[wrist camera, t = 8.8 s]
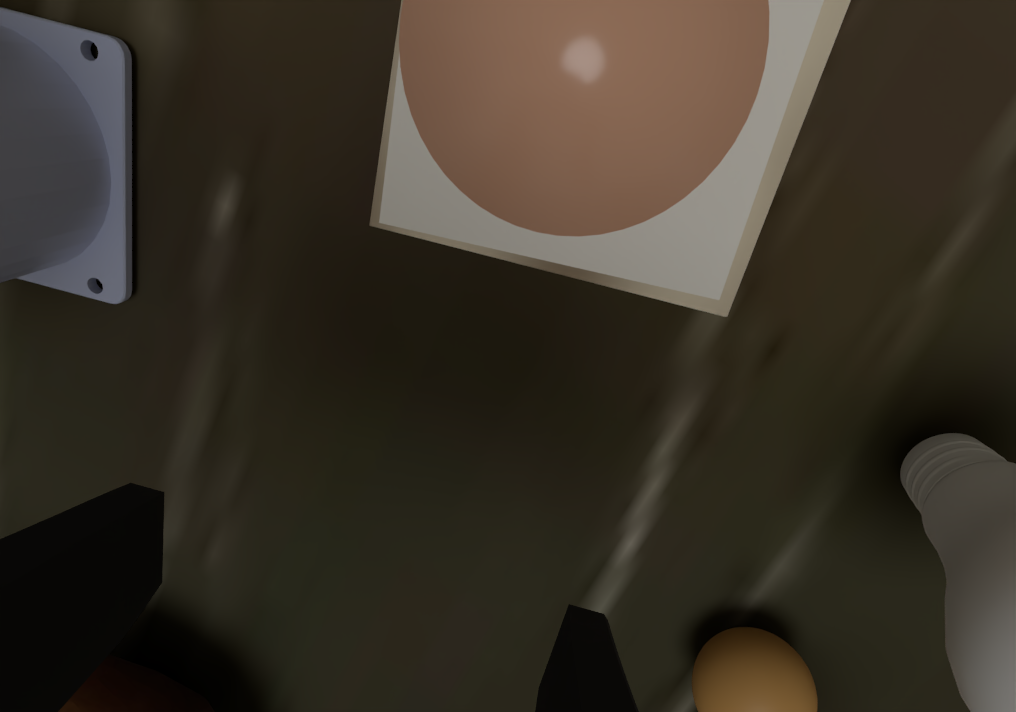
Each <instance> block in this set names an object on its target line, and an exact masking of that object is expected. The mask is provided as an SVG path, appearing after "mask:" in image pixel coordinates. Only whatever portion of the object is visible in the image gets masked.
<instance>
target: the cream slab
mask: <svg viewBox="0 0 1016 712" xmlns="http://www.w3.org/2000/svg"><path fill="white" fill-rule="evenodd" d="M768 2H769V12H770V13H769V42H768V49H767V56H766V62H765V69H764V72H763V76H762V80H761V83H760V87H759V91H758V94H757V97H756V99H755V102H754V104H753V107H752V109H751V112H750V114H749V116H748V119H747V121H746V123H745V125H744V126H743V128H742V130H741V132H740V134H739V135H738V137H737V139H736V141H735V143H734V144H733V145H732V147H731V148H730V150H729V151H728V152H727V154H726V155H725V157H724V158H723V159H722V161H721V162H720V164H719V165H718V166H717V167H716V168H715V169H714V170H713V171H712V172H711V174H710V175H709V176H708V177H707V178H706V179H705V180H704V181H703V182H702V183H701V184H700V185H699V186H698V187H697V188H695V189H694V190H693V191H692V192H691V193H690V194H688V195H687V196H686V197H685V198H684V199H682V200H681V201H679V202H678V203H676V204H675V205H673V206H672V207H670V208H669V209H667V210H666V211H664V212H662V213H660V214H659V215H657V216H655V217H653V218H651V219H649V220H647V221H645V222H642V223H640V224H637V225H634V226H631V227H628V228H626V229H623V230H619V231H614V232H610V233H605V234H601V235H590V236H579V237H578V236H556V235H550V234H545V233H539V232H534V231H531V230H528V229H525V228H521V227H518V226H515V225H513V224H511V223H509V222H506V221H504V220H502V219H500V218H498V217H496V216H494V215H493V214H491V213H489V212H488V211H486V210H485V209H483V208H481V207H480V206H478V205H477V204H476V203H474V202H473V201H472V200H471V199H469V198H468V197H467V196H466V195H465V194H463V193H462V192H461V191H460V190H459V189H458V188H457V187H456V186H455V185H454V184H453V183H452V182H451V181H450V179H449V178H448V177H447V176H446V175H445V174H444V173H443V171H442V170H441V169H440V167H439V166H438V164H437V163H436V162H435V160H434V159H433V158H432V156H431V154H430V153H429V151H428V149H427V147H426V146H425V144H424V142H423V140H422V139H421V137H420V134H419V132H418V130H417V127H416V125H415V123H414V120H413V118H412V116H411V112H410V109H409V105H408V102H407V99H406V95H405V92H404V86H403V80H402V74H401V68H400V52H399V60H398V69H397V77H396V85H395V94H394V102H393V110H392V119H391V127H390V135H389V144H388V152H387V160H386V169H385V177H384V186H383V194H382V202H381V211H380V219H379V223H382V224H386V225H391V226H395V227H400V228H404V229H408V230H413V231H417V232H422V233H426V234H430V235H435V236H439V237H444V238H448V239H452V240H457V241H461V242H465V243H470V244H474V245H479V246H483V247H487V248H492V249H496V250H501V251H505V252H509V253H514V254H518V255H523V256H527V257H531V258H536V259H540V260H545V261H549V262H553V263H558V264H562V265H566V266H571V267H575V268H580V269H584V270H588V271H593V272H597V273H602V274H606V275H610V276H615V277H619V278H624V279H628V280H632V281H637V282H641V283H646V284H650V285H654V286H659V287H663V288H667V289H672V290H676V291H681V292H685V293H689V294H694V295H698V296H703V297H707V298H711V299H716V300H720V297H721V294H722V291H723V288H724V285H725V283H726V280H727V277H728V274H729V271H730V268H731V265H732V262H733V260H734V257H735V254H736V251H737V248H738V245H739V242H740V240H741V237H742V234H743V231H744V228H745V225H746V222H747V219H748V217H749V214H750V211H751V208H752V205H753V202H754V199H755V197H756V194H757V191H758V188H759V185H760V182H761V179H762V177H763V174H764V171H765V168H766V165H767V162H768V159H769V156H770V154H771V151H772V148H773V145H774V142H775V139H776V136H777V134H778V131H779V128H780V125H781V122H782V119H783V116H784V113H785V111H786V108H787V105H788V102H789V99H790V96H791V93H792V91H793V88H794V85H795V82H796V79H797V76H798V73H799V70H800V68H801V65H802V62H803V59H804V56H805V53H806V50H807V48H808V45H809V42H810V39H811V36H812V33H813V30H814V27H815V25H816V22H817V19H818V16H819V13H820V10H821V7H822V5H823V2H824V0H768Z"/></svg>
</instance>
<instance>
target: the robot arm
mask: <svg viewBox="0 0 1016 712" xmlns="http://www.w3.org/2000/svg"><path fill="white" fill-rule="evenodd" d="M92 43H94V44H95V45H96V47H97V49H98V57H97V59H95V58H94V57H93V56H92V54H91V50H90V48H91V44H92ZM14 278H17V279H21V280H25V281H28V282H32V283H36V284H40V285H43V286H47V287H51V288H55V289H58V290H62V291H66V292H69V293H73V294H77V295H81V296H84V297H88V298H92V299H96V300H99V301H103V302H107V303H111V304H118V303H121V302H123V301H126V300H128V299H129V298H130V296H131V293H132V58H131V52H130V51H129V49H128V47H127V45H126V44H125V43H124V42H123V41H122V40H121V39H119V38H117V37H114V36H111V35H107V34H103V33H99V32H95V31H91V30H87V29H84V28H80V27H76V26H72V25H68V24H64V23H60V22H57V21H53V20H49V19H45V18H41V17H37V16H33V15H30V14H26V13H22V12H18V11H14V10H10V9H6V8H3V7H0V283H1V282H4V281H8V280H11V279H14ZM96 279H98V280H99V281H100V282H101V283H102V286H103V289H101V288H100V287H99V286H98V285H97V282H96ZM163 522H164V492H161V491H158V490H154V489H151V488H147V487H143V486H140V485H136V484H133V483H130V484H127V485H125V486H122V487H119V488H117V489H115V490H112V491H110V492H107V493H105V494H103V495H101V496H98V497H96V498H94V499H91V500H89V501H87V502H85V503H82V504H80V505H78V506H75V507H73V508H71V509H69V510H66V511H64V512H62V513H60V514H57V515H55V516H53V517H51V518H48V519H46V520H44V521H41V522H39V523H37V524H35V525H32V526H30V527H28V528H25V529H23V530H21V531H18V532H16V533H14V534H11V535H9V536H7V537H4V538H2V539H0V712H58V711H59V710H60V709H61V708H62V707H63V706H64V705H65V704H66V702H67V701H68V700H69V699H70V698H71V697H72V696H73V695H74V693H75V692H76V691H77V690H78V689H79V688H80V687H81V686H82V684H83V683H84V682H85V681H86V680H87V679H88V678H89V677H90V675H91V674H92V673H93V672H94V671H95V670H96V669H97V667H98V666H99V665H100V664H101V663H102V662H103V661H104V659H105V658H106V657H107V656H108V655H109V654H110V653H111V651H112V650H113V649H114V648H115V647H116V646H117V644H118V643H119V642H120V641H121V640H122V639H123V637H124V636H125V635H126V634H127V632H128V631H129V629H130V628H131V627H132V625H133V624H134V622H135V621H136V620H137V618H138V617H139V615H140V614H141V613H142V611H143V610H144V608H145V607H146V605H147V604H148V602H149V601H150V599H151V598H152V596H153V595H154V594H155V592H156V591H157V589H158V588H159V586H160V585H161V583H162V564H163ZM535 712H639V711H638V709H637V706H636V703H635V701H634V698H633V695H632V693H631V690H630V687H629V684H628V681H627V679H626V676H625V673H624V670H623V667H622V664H621V661H620V658H619V655H618V652H617V649H616V646H615V643H614V640H613V636H612V633H611V630H610V626H609V623H608V620H607V618H606V617H605V615H604V614H602V613H598V612H595V611H591V610H587V609H584V608H580V607H577V606H573V605H569V606H568V608H567V611H566V614H565V617H564V619H563V622H562V625H561V628H560V631H559V633H558V636H557V639H556V642H555V644H554V647H553V650H552V653H551V656H550V658H549V661H548V664H547V667H546V669H545V672H544V675H543V678H542V681H541V683H540V686H539V690H538V697H537V704H536V711H535Z"/></svg>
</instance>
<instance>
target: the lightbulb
mask: <svg viewBox="0 0 1016 712" xmlns="http://www.w3.org/2000/svg"><path fill="white" fill-rule="evenodd" d="M900 479H901V482H902V486H903V487H904V489H905V490H906V492H907V494H908V496H909V497H910V499H911V500H912V501H913V503H914V505H915V506H916V508H917V509H918V510H919V512H920V513H921V515H922V523H923V526H924V530H925V533H926V535H927V536H928V538H929V539H930V541H931V543H932V544H933V546H934V547H935V549H936V550H937V552H938V554H939V557H940V559H941V561H942V564H943V566H944V569H945V575H946V580H947V584H946V592H945V645H946V652H947V655H948V659H949V662H950V665H951V668H952V671H953V674H954V677H955V680H956V683H957V686H958V689H959V692H960V695H961V697H962V699H963V700H964V702H965V704H966V705H967V707H968V708H969V710H970V712H1016V463H1012V462H1008V461H1007V460H1006V459H1005V458H1003V457H1002V456H1000V455H999V454H997V453H996V452H995V451H994V450H992V449H991V448H989V447H988V446H986V445H984V444H983V443H981V442H980V441H978V440H977V439H975V438H974V437H971V436H968V435H965V434H959V433H947V434H940V435H936V436H933V437H930V438H928V439H926V440H923V441H922V442H920V443H919V444H917V445H916V446H915V447H914V448H913V449H912V450H911V451H910V452H909V453H908V454H907V456H906V457H905V459H904V461H903V463H902V466H901V471H900Z"/></svg>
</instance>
